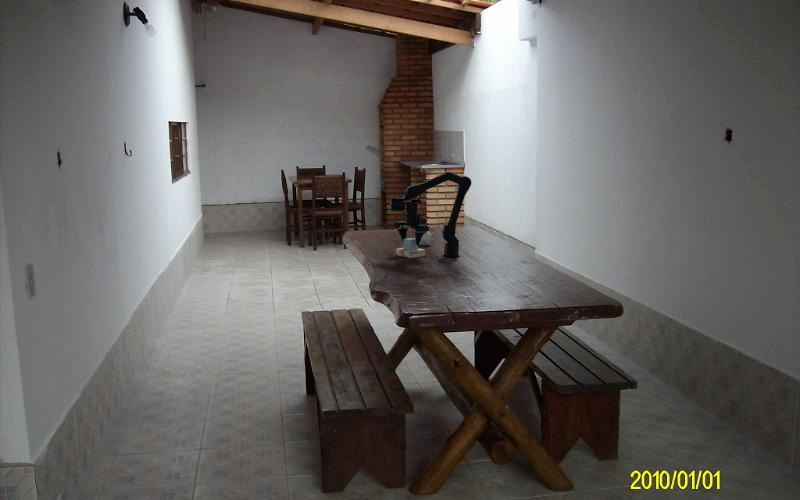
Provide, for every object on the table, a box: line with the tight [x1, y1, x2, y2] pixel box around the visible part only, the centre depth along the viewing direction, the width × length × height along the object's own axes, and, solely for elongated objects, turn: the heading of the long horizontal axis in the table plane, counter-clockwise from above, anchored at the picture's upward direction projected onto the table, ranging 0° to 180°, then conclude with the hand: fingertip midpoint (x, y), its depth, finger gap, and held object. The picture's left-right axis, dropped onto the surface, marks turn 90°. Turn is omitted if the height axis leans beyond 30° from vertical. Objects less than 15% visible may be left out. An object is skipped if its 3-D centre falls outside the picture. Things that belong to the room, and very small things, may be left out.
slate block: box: [403, 237, 419, 250], centre depth 351 cm, size 5×5×5 cm
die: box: [414, 230, 433, 246], centre depth 383 cm, size 8×9×10 cm
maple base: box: [395, 247, 426, 259], centre depth 352 cm, size 10×10×3 cm
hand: (411, 244), depth 351 cm, fingers open, 9 cm apart
